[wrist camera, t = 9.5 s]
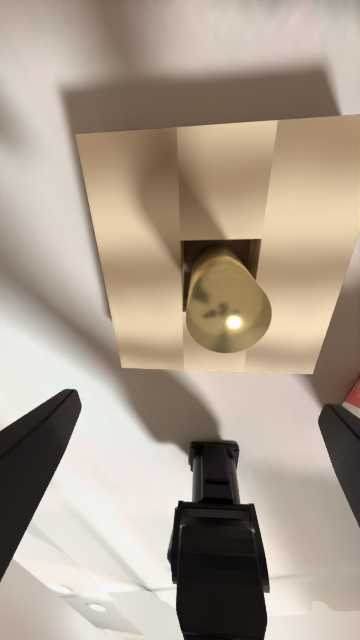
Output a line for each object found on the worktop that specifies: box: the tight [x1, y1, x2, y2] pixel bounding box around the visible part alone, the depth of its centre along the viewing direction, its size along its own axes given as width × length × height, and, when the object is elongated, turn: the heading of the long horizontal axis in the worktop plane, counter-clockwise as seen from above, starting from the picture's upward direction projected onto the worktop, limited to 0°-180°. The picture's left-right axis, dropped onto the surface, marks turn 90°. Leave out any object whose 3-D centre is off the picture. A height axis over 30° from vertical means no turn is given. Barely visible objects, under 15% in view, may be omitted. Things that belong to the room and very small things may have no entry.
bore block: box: [75, 114, 360, 374], centre depth 16 cm, size 16×16×4 cm
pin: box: [186, 244, 272, 353], centre depth 13 cm, size 4×4×9 cm
